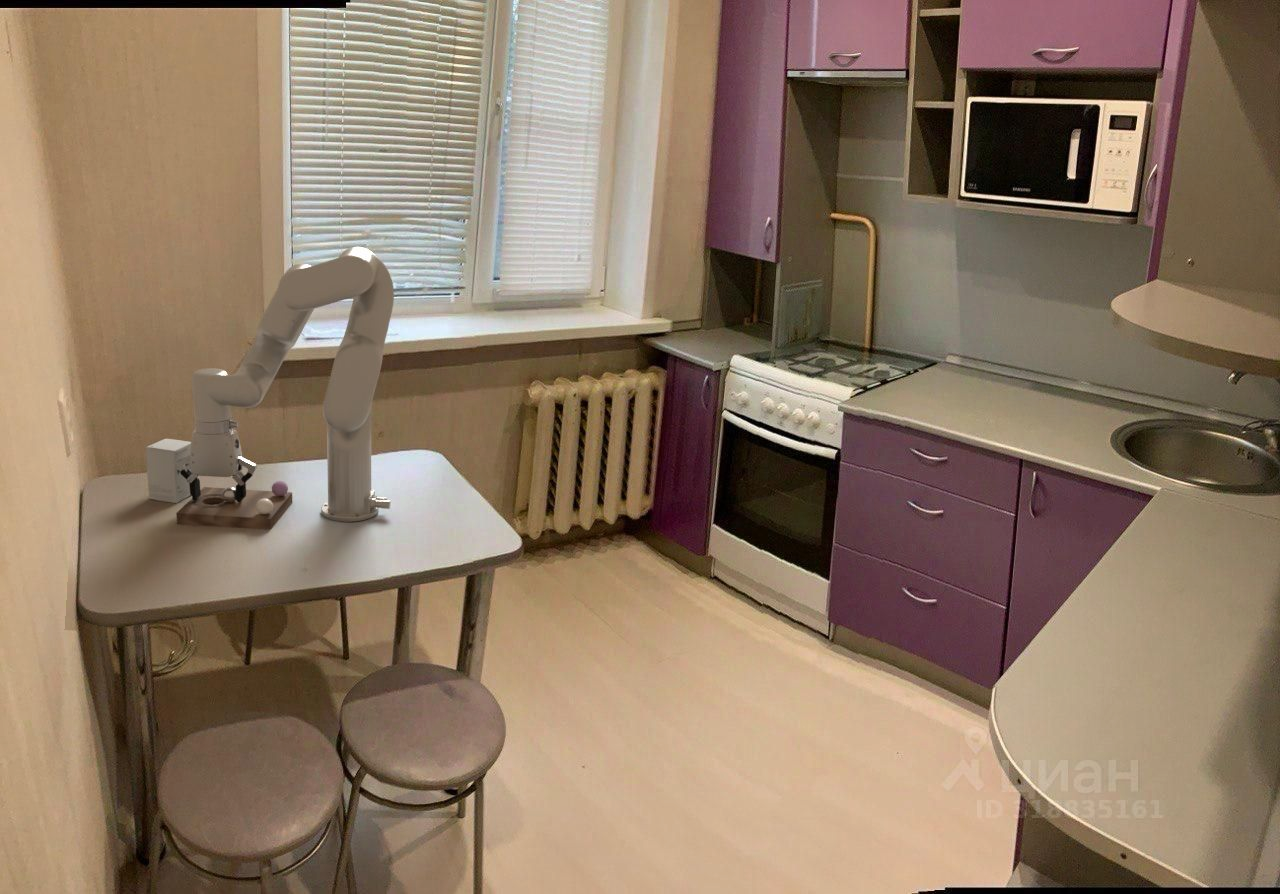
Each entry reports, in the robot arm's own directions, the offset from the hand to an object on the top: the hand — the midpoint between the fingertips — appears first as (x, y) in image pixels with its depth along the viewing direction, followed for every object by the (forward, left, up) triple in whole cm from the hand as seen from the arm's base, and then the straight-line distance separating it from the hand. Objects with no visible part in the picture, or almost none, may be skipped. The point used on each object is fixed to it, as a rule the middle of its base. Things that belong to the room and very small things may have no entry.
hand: (218, 498), depth 231 cm
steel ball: (-3, 0, +1) cm, 3 cm away
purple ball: (-12, -5, +1) cm, 13 cm away
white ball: (-12, +6, +1) cm, 13 cm away
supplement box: (+13, -7, -3) cm, 15 cm away
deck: (-4, 0, -3) cm, 5 cm away
